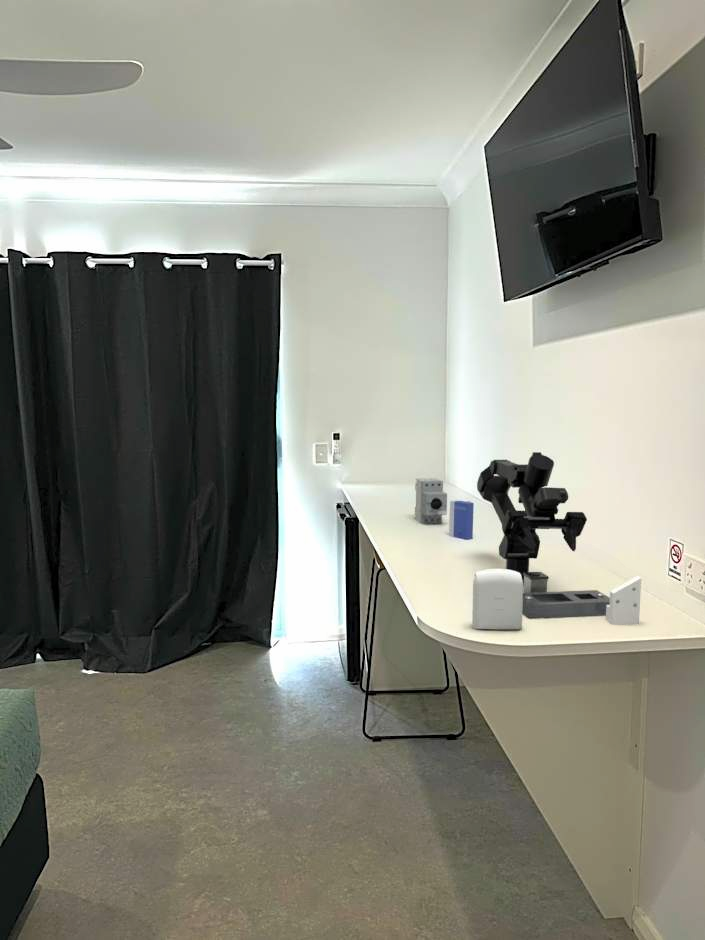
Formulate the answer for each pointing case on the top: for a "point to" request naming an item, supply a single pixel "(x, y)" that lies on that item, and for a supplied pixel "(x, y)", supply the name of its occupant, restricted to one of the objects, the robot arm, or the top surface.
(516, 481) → the robot arm
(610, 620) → the white angled block
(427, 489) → the circuit breaker
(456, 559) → the top surface
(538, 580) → the drawer with knob
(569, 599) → the metal cover plate
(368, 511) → the top surface
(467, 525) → the walkman
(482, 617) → the photo printer
